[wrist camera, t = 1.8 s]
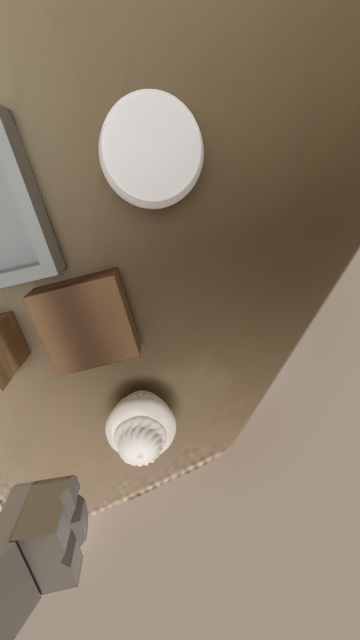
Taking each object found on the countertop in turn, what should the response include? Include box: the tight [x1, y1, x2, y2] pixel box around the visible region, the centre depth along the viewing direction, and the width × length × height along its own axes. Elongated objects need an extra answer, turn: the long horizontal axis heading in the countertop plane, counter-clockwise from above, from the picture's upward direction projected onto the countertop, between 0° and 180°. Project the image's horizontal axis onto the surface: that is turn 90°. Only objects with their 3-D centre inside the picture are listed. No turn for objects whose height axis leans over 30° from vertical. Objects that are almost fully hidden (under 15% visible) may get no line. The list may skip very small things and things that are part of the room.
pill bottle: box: [98, 89, 204, 209], centre depth 20 cm, size 6×6×10 cm
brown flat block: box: [23, 267, 141, 377], centre depth 27 cm, size 7×7×3 cm
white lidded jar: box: [105, 390, 176, 467], centre depth 29 cm, size 6×6×7 cm
